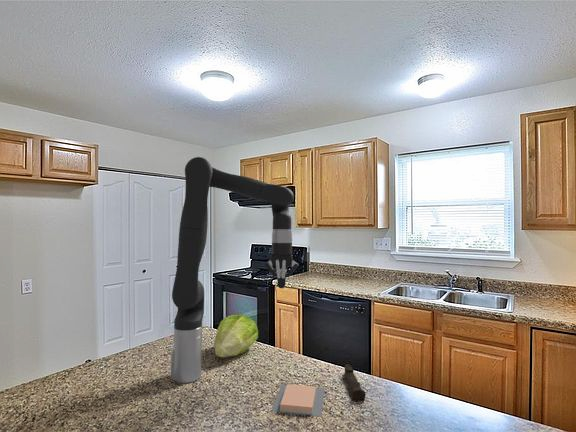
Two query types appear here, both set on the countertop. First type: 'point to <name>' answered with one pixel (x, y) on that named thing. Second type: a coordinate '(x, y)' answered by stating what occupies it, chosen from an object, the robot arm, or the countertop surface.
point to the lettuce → (235, 335)
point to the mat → (316, 412)
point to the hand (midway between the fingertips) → (281, 288)
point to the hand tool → (354, 384)
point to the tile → (298, 399)
